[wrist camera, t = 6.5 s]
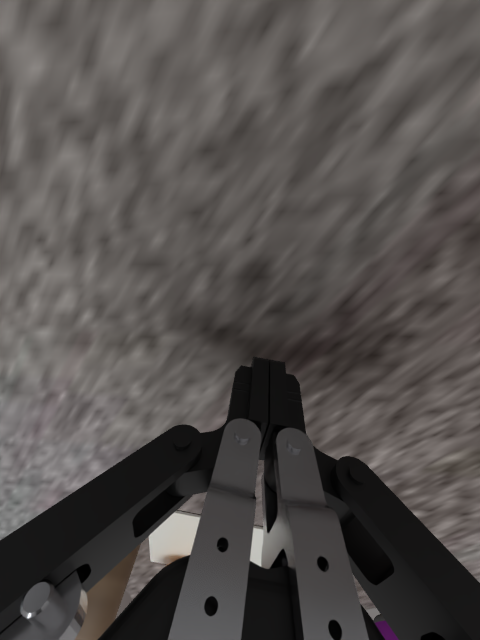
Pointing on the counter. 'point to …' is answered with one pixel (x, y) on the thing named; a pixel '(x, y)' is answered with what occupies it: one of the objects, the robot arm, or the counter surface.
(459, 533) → the counter surface
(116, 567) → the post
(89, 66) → the counter surface
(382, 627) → the beverage can
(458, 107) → the counter surface
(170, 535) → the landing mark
